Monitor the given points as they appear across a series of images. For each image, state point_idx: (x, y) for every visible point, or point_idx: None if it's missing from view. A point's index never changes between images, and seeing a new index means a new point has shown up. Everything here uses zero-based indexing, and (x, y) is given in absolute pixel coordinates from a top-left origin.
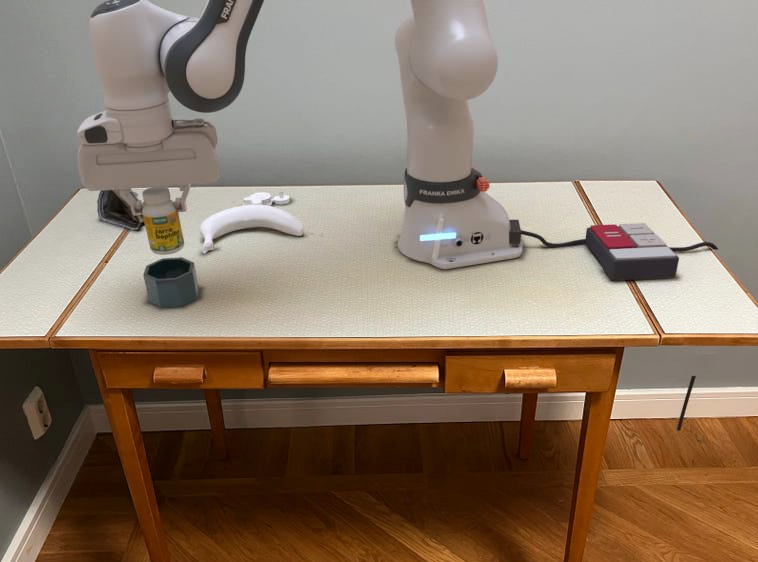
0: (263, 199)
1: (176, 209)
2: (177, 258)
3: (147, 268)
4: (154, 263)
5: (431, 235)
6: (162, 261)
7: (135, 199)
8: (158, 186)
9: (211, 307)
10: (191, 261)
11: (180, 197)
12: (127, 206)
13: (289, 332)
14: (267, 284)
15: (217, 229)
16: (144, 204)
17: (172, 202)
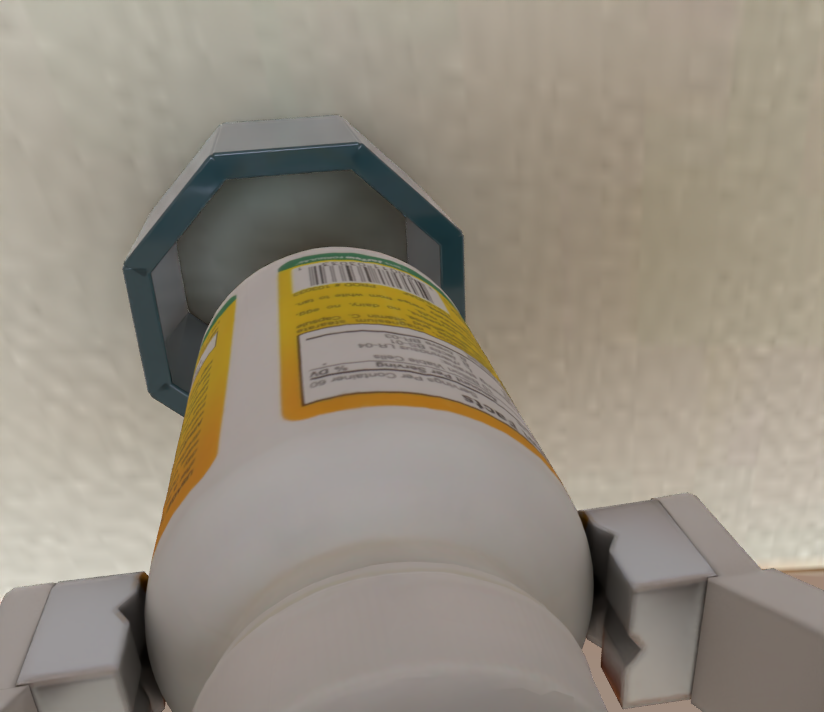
0: None
1: (591, 637)
2: (332, 163)
3: (147, 309)
4: (175, 235)
5: None
6: (221, 185)
7: (16, 702)
8: (427, 679)
9: (506, 372)
10: (442, 217)
11: (697, 582)
12: None
13: (804, 542)
14: (781, 153)
15: None
16: (179, 669)
17: (570, 622)
